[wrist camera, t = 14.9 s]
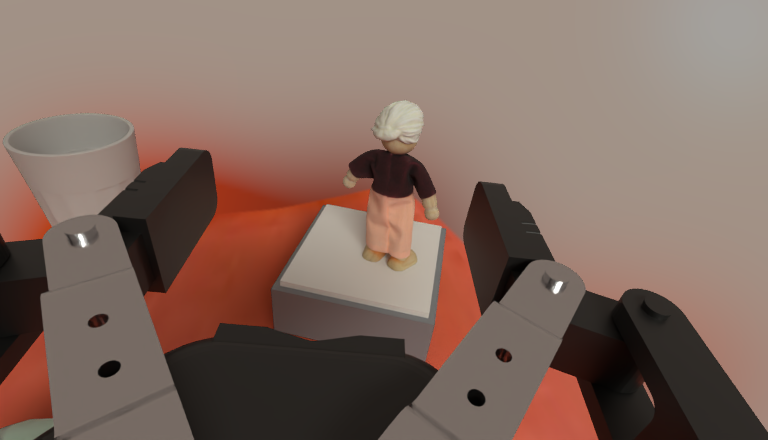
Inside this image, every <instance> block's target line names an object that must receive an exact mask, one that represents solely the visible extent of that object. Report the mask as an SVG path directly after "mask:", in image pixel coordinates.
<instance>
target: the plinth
mask: <svg viewBox="0 0 768 440" xmlns="http://www.w3.org/2000/svg"><path fill="white" fill-rule="evenodd" d="M366 215H367V212H365V211H360V210H355V209H350V208H344V207H339V206H334V205H329V204H327V205H323V206H322V208H321V210H320V211H319V213H318V214H317V216H316V218H315V219H314V221H313V222H312V224H311V226H310V227H309V229H308V230H307V232H306V234H305V235H304V237H303V238H302V240H301V242H300V243H299V245H298V246H297V248H296V250H295V251H294V253H293V254H292V256H291V258H290V259H289V261H288V262H287V264H286V266H285V267H284V269H283V270H282V272H281V274H280V275H279V277H278V278H277V280H276V282H275V283H274V285H273V286H272V288H271V296H272V309H273V321H274V330H277V331H280V332H284V333H288V334H293V335H297V336H301V337H305V338H310V339H314V340H318V341H319V340H327V339H335V338H343V337H350V336H358V335H364V336H375V337H387V338H398V339H405V353H406V354H409V355H412V356H414V357H416V358H419V359H421V360H423V361H426V357H427V353H428V349H429V345H430V341H431V337H432V333H433V329H434V325H435V317H436V309H437V301H438V292H439V284H440V276H441V268H442V260H443V251H444V243H445V235H446V229H444V228H441V226H437V225H431V224H426V223H421V222H416V221H413V230H412V243H411V249H412V250H413V251H414V252H415V253H416V256H417V262H416V264H414V265H413V266H411V267H409V268H407V269H405V270H403V271H394V270H392V269H391V268H389V267H388V265H387V261H388V259H389V258H390V257H391V255H390V254H389V253H387V254H386V255H385V256H384V257H383V258H382V259H381V260H380V261H378V262H370V261H367V260H365V259H364V258H363V257H362V253H363V251H364V249H365V246H366Z"/></svg>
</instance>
